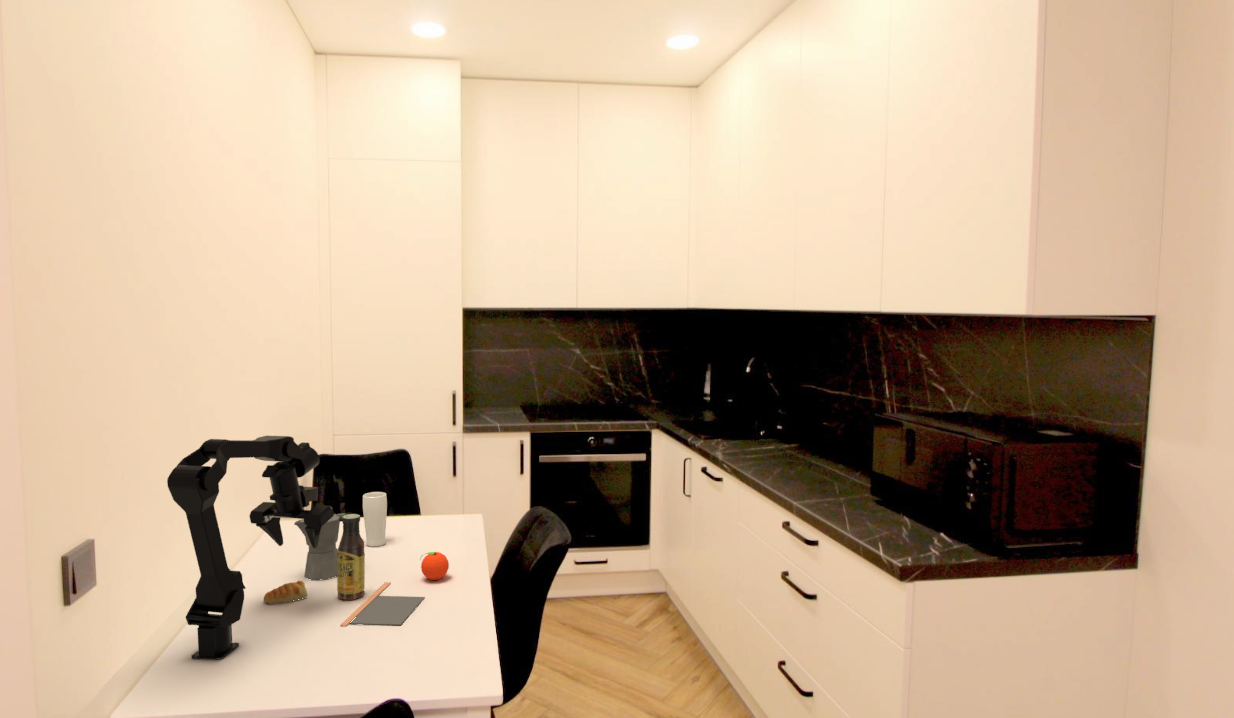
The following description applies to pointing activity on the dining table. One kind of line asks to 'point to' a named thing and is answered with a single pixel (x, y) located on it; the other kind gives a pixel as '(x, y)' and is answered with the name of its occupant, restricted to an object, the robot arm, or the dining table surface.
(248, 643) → the dining table surface
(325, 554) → the coffeepot
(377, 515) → the drinking glass
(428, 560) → the clementine
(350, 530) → the sauce bottle
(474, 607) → the dining table surface
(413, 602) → the charcoal mat
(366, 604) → the terracotta line
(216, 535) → the robot arm
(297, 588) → the pastry
